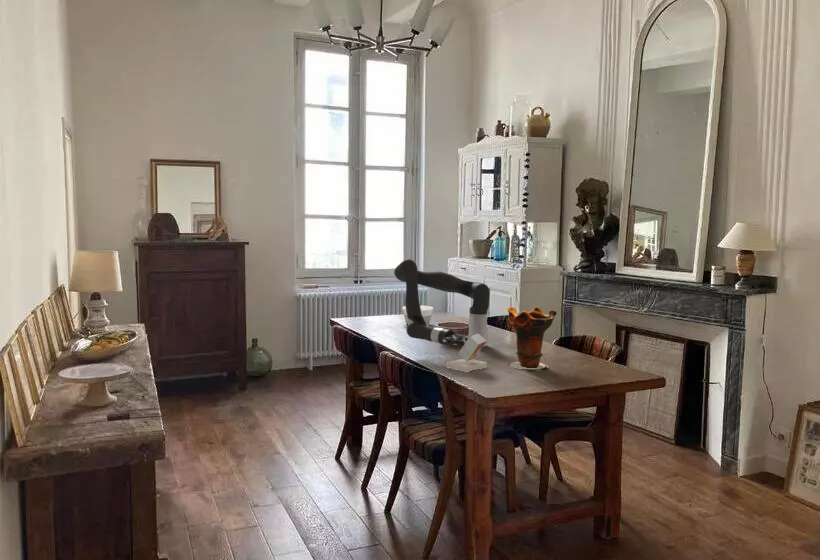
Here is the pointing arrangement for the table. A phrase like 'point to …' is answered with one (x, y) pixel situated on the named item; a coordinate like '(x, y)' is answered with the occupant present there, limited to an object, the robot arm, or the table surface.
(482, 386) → the table surface
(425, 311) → the bowl
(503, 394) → the table surface
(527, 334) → the decorative vase
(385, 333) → the table surface
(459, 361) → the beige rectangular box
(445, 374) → the table surface
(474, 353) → the small box
